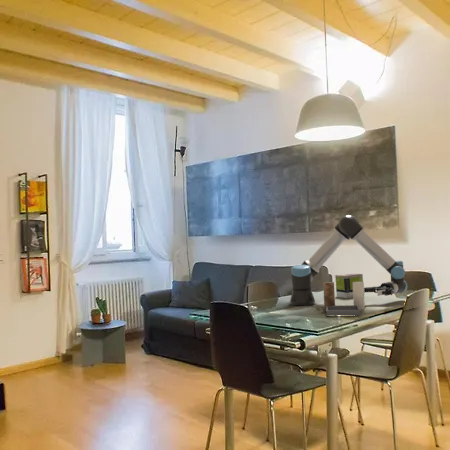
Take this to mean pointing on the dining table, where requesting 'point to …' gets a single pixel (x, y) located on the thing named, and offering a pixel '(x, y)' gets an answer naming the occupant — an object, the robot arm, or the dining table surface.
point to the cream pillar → (358, 294)
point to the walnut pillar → (329, 294)
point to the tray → (343, 310)
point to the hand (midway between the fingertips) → (367, 292)
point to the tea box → (346, 284)
